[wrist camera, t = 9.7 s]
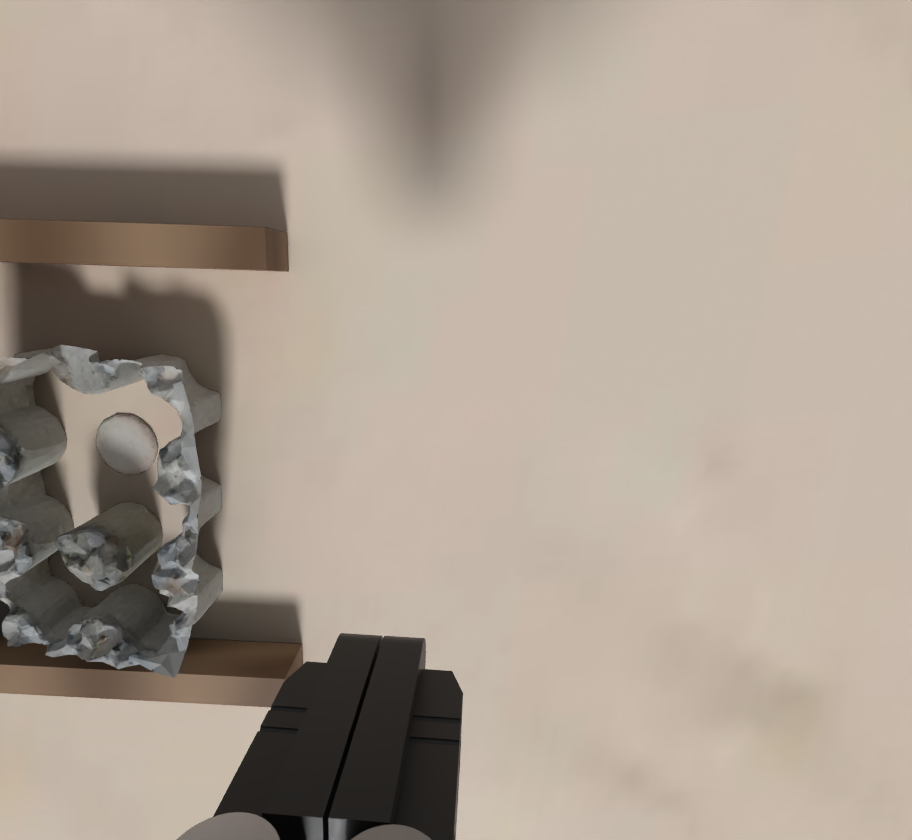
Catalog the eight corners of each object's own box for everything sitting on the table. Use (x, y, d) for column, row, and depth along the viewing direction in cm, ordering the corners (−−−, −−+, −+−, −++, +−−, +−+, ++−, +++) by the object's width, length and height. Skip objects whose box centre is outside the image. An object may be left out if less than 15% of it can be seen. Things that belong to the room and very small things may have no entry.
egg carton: (32, 328, 20) (-81, 338, 16) (245, 360, 20) (186, 378, 16) (39, 599, 22) (-56, 668, 18) (229, 628, 22) (175, 702, 18)
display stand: (287, 233, 18) (147, 194, 10) (302, 670, 22) (209, 880, 14) (-95, 221, 19) (-503, 175, 11) (-14, 654, 22) (-272, 850, 15)
